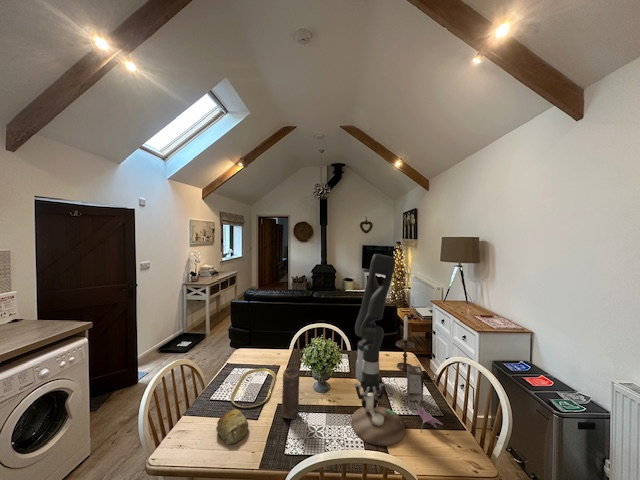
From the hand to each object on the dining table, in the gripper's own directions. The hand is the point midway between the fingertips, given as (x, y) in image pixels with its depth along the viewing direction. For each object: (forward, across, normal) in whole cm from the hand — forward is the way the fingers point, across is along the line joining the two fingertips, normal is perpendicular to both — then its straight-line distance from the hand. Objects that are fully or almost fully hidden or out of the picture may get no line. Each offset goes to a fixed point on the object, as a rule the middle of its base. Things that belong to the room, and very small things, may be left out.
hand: (369, 407), depth 125 cm
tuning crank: (+2, -1, +4) cm, 4 cm away
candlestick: (+2, -32, -40) cm, 52 cm away
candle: (+4, +35, -1) cm, 35 cm away
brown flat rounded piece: (+3, -2, +8) cm, 8 cm away
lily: (+3, -22, +10) cm, 24 cm away
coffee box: (+3, -24, -6) cm, 25 cm away
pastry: (+5, +58, +7) cm, 59 cm away
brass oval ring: (+5, +54, -25) cm, 59 cm away
